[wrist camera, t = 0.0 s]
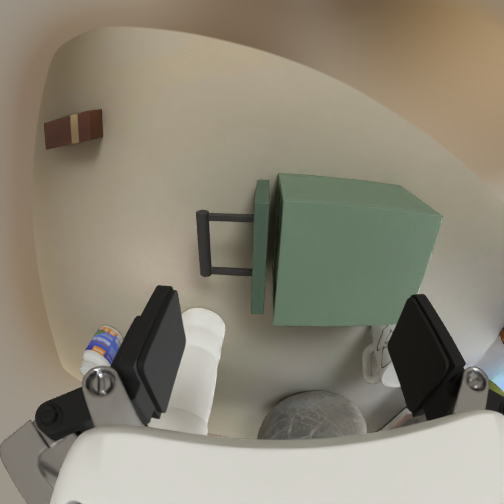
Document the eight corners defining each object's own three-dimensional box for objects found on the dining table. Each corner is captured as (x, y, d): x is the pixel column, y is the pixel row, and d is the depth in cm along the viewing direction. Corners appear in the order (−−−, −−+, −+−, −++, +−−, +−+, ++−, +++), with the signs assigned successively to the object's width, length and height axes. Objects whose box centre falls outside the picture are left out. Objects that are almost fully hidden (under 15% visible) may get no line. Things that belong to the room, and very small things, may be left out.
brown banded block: (56, 120, 26) (43, 123, 23) (101, 108, 25) (89, 110, 23) (58, 146, 27) (45, 150, 25) (103, 137, 27) (91, 140, 25)
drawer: (209, 269, 34) (195, 310, 27) (204, 178, 28) (184, 201, 22) (359, 275, 33) (378, 315, 26) (378, 189, 28) (408, 214, 21)
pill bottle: (118, 325, 42) (95, 367, 33) (128, 347, 44) (109, 388, 36) (94, 322, 42) (70, 361, 34) (105, 343, 45) (84, 381, 36)
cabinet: (272, 272, 35) (272, 325, 26) (278, 173, 29) (283, 200, 20) (379, 276, 34) (404, 324, 26) (400, 185, 28) (443, 216, 20)
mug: (372, 355, 42) (385, 402, 33) (340, 339, 40) (351, 391, 31) (420, 313, 37) (445, 358, 28) (393, 291, 35) (419, 341, 27)
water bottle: (203, 344, 42) (170, 492, 20) (170, 318, 40) (116, 471, 18) (235, 327, 40) (213, 494, 18) (201, 297, 37) (151, 475, 15)
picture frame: (405, 435, 64) (445, 401, 53) (407, 441, 62) (447, 408, 51) (365, 440, 63) (404, 407, 53) (366, 447, 61) (406, 415, 51)
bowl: (371, 397, 49) (384, 455, 36) (295, 427, 57) (297, 480, 43) (327, 358, 42) (339, 436, 29) (238, 397, 50) (231, 463, 37)
